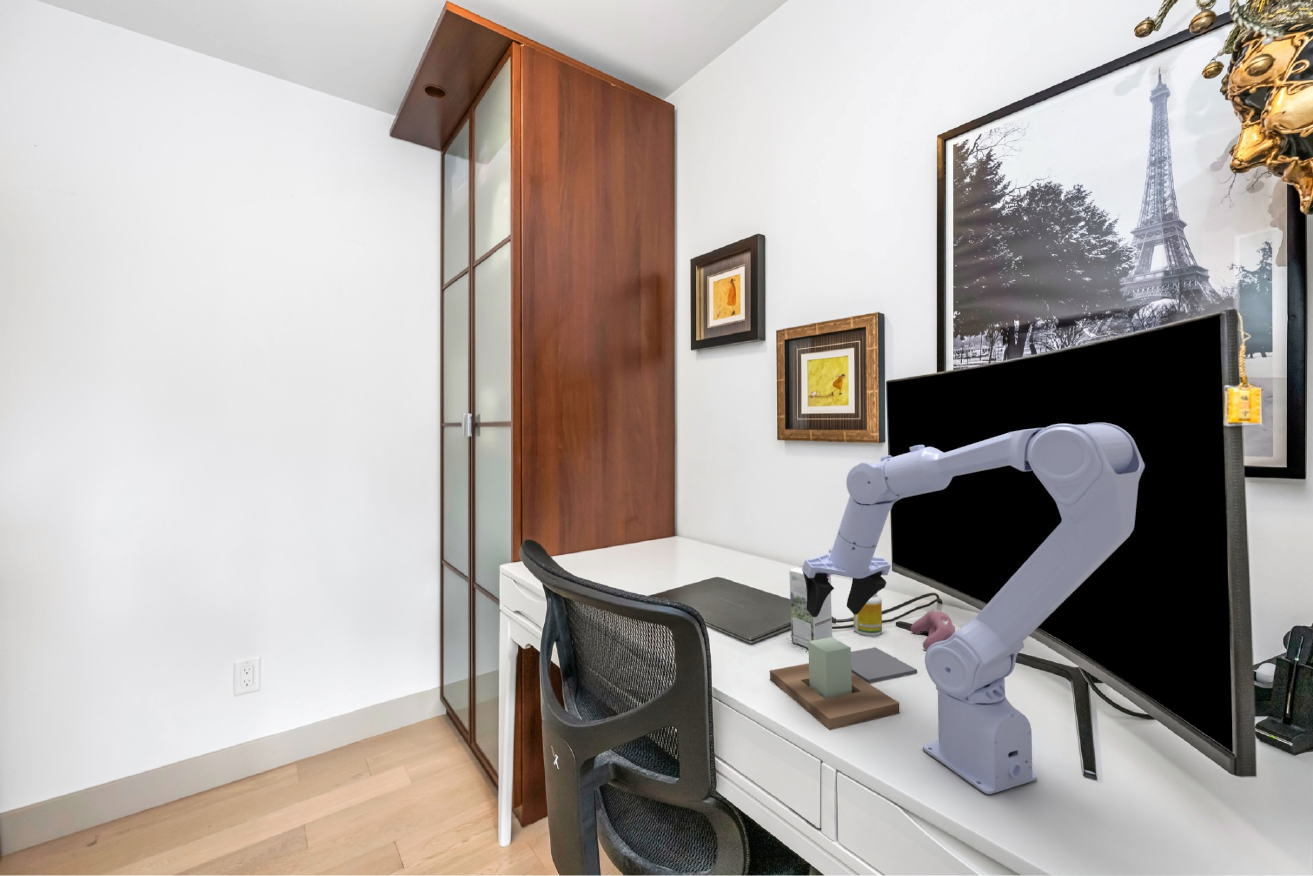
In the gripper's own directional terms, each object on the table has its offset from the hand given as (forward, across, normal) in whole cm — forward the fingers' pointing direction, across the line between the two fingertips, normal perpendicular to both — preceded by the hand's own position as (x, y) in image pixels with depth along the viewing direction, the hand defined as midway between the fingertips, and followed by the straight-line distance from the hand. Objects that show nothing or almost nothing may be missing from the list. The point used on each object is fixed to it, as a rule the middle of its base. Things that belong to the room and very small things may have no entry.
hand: (832, 611), depth 84 cm
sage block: (+12, 0, +6) cm, 13 cm away
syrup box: (+18, -9, -11) cm, 23 cm away
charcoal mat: (+13, -13, 0) cm, 18 cm away
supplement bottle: (+17, -23, -12) cm, 31 cm away
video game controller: (+13, -31, -4) cm, 33 cm away
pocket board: (+12, 0, +6) cm, 13 cm away
